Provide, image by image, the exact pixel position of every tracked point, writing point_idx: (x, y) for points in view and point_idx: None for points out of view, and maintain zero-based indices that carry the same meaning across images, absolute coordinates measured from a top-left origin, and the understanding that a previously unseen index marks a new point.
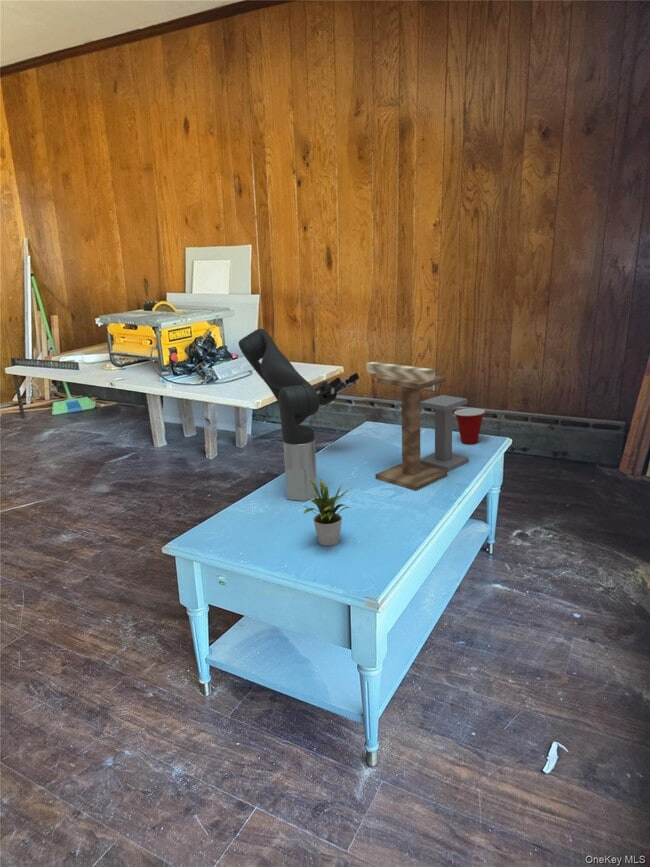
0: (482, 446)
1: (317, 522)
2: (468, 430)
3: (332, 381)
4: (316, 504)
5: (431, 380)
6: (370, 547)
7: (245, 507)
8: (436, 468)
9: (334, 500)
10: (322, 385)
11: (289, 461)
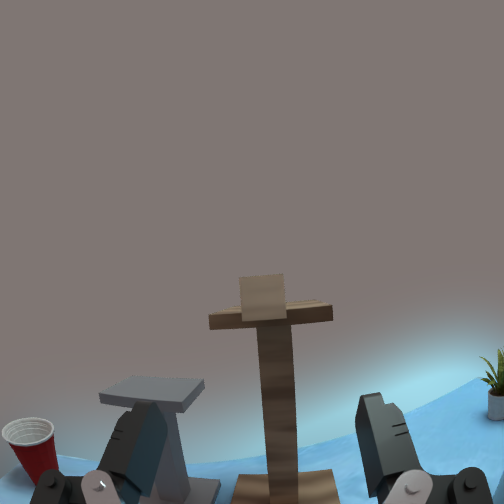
0: (70, 471)
1: None
2: (55, 460)
3: (398, 459)
4: None
5: None
6: (462, 408)
7: None
8: (215, 499)
9: (496, 375)
10: (487, 493)
11: None
